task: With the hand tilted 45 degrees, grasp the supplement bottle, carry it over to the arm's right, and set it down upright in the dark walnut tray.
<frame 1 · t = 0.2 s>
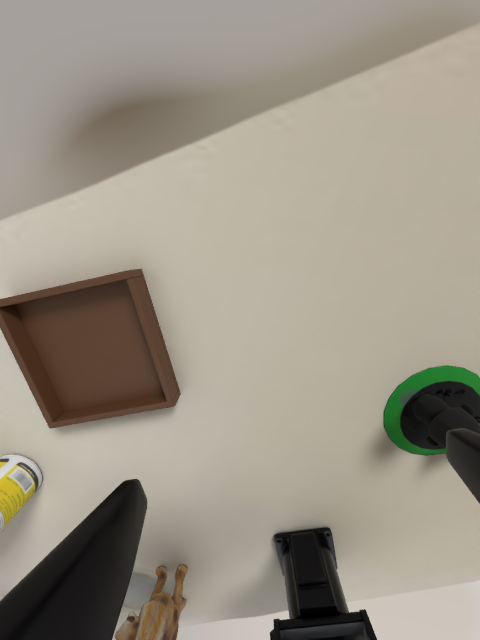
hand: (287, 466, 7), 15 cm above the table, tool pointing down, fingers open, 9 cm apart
tray: (100, 348, 22), on the table
lion figurine: (167, 581, 30), on the table
supplement bottle: (21, 470, 26), on the table
toy figurine: (434, 411, 23), on the table
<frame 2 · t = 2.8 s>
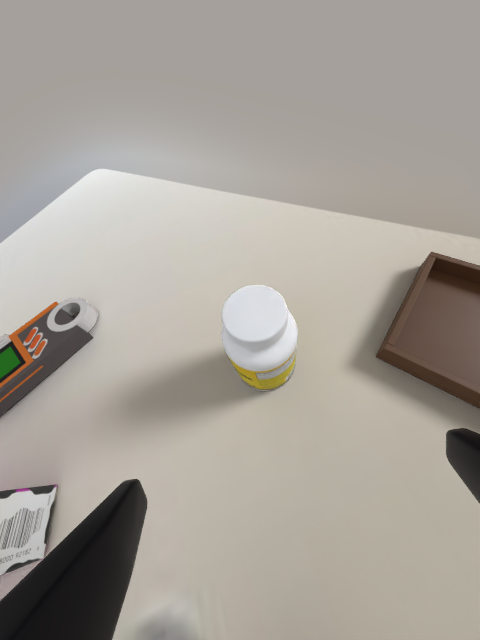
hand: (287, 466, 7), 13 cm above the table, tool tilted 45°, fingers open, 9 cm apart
electronic device: (45, 355, 27), on the table
tray: (475, 336, 20), on the table
supplement bottle: (265, 364, 23), on the table
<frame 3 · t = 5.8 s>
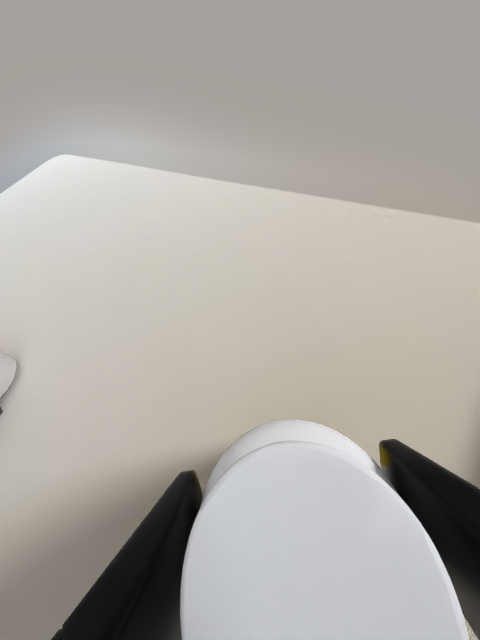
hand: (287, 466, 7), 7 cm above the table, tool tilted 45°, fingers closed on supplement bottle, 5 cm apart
supplement bottle: (292, 492, 12), on the table, touching gripper
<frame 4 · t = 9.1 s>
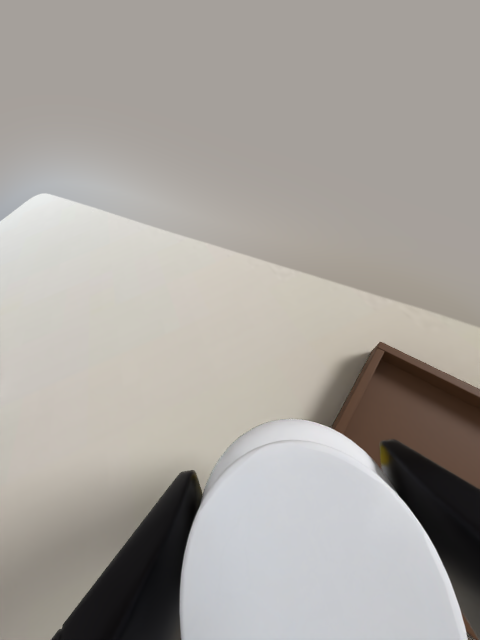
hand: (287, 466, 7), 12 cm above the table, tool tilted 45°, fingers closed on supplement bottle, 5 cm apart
tray: (426, 468, 16), on the table
supplement bottle: (291, 492, 12), point 5 cm above the table, touching gripper
when the fingers open (7 cm above the table, at t = 12.5 s): supplement bottle stays where it is, resting on tray.
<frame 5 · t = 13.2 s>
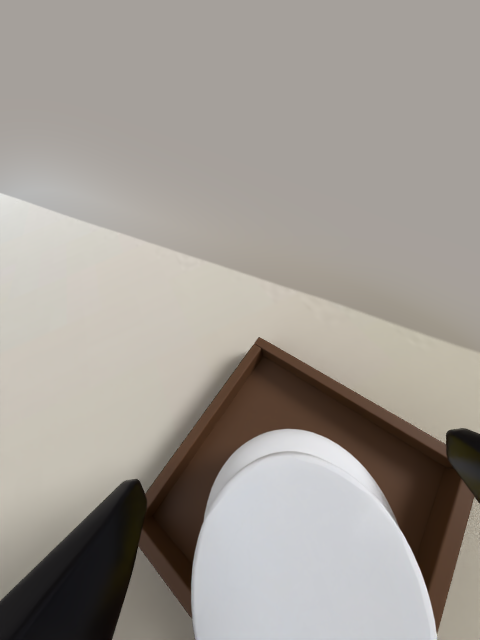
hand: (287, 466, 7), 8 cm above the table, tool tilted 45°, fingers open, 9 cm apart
tray: (292, 491, 13), on the table
supplement bottle: (291, 495, 12), resting on tray
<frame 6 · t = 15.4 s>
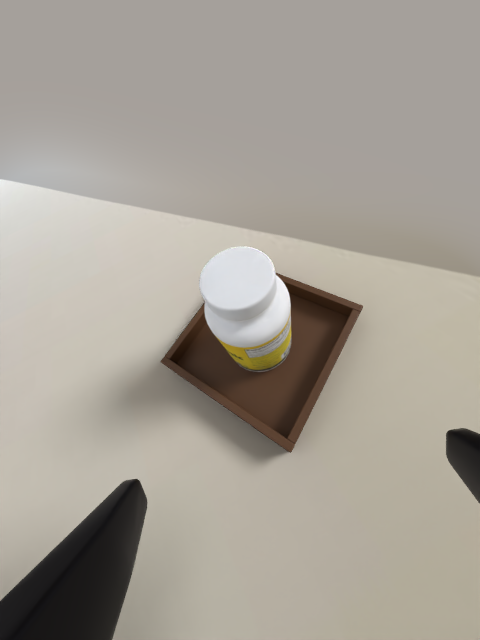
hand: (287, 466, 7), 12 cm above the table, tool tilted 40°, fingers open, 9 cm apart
tray: (261, 343, 21), on the table
supplement bottle: (259, 343, 21), resting on tray
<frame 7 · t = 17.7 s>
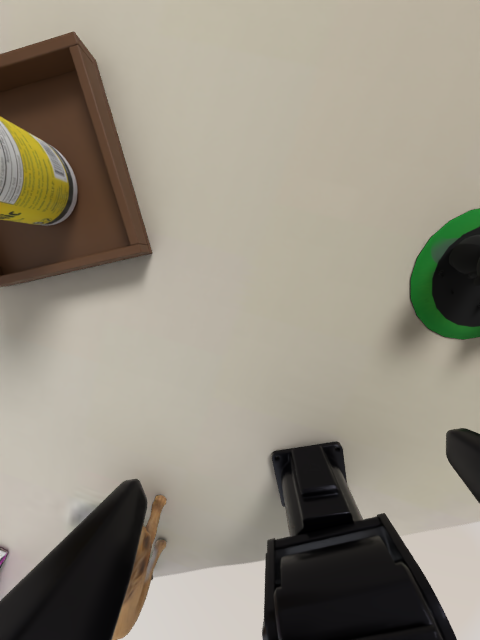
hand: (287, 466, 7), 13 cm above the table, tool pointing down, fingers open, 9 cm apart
tray: (47, 185, 17), on the table
lion figurine: (144, 517, 25), on the table
supplement bottle: (45, 187, 17), resting on tray
toy figurine: (474, 277, 18), on the table
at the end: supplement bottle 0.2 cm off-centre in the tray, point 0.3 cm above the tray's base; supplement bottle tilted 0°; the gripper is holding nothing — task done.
